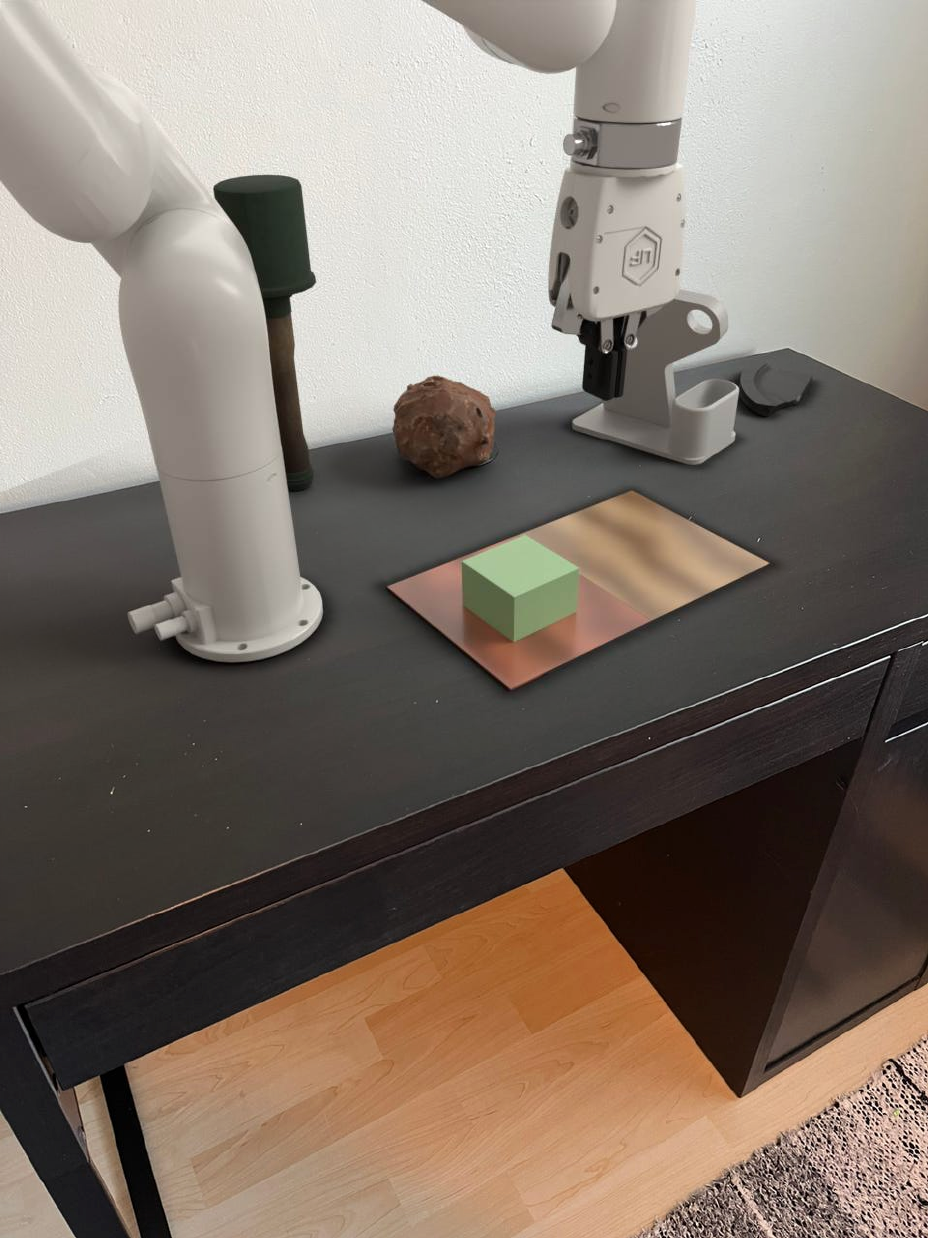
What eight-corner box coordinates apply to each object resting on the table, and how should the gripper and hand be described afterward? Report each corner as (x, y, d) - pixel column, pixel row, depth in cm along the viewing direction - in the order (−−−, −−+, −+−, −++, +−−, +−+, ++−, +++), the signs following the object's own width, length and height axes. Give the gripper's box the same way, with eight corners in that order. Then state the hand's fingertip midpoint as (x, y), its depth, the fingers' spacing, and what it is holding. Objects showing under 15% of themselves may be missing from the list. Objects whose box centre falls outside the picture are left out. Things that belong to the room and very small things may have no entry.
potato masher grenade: (344, 467, 106) (314, 172, 89) (327, 505, 99) (291, 192, 82) (269, 465, 107) (225, 172, 89) (247, 502, 100) (194, 192, 82)
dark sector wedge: (717, 408, 117) (719, 395, 116) (750, 371, 127) (752, 359, 126) (786, 420, 114) (789, 407, 113) (814, 382, 123) (816, 370, 122)
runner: (510, 690, 74) (510, 688, 74) (386, 588, 86) (386, 586, 86) (769, 564, 88) (769, 562, 88) (631, 491, 100) (631, 490, 100)
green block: (513, 642, 78) (514, 597, 76) (462, 605, 83) (461, 560, 81) (576, 612, 82) (579, 567, 79) (524, 577, 86) (525, 534, 84)
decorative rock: (508, 487, 101) (508, 397, 95) (402, 499, 100) (397, 408, 94) (481, 436, 112) (480, 352, 106) (385, 446, 110) (379, 361, 104)
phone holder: (742, 438, 110) (767, 277, 99) (697, 469, 104) (719, 302, 93) (614, 401, 119) (625, 251, 109) (566, 428, 113) (573, 272, 103)
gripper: (579, 164, 62) (561, 431, 72) (737, 143, 69) (700, 388, 79) (508, 148, 67) (501, 399, 77) (662, 129, 74) (636, 362, 84)
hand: (602, 393), depth 78 cm, fingers closed
